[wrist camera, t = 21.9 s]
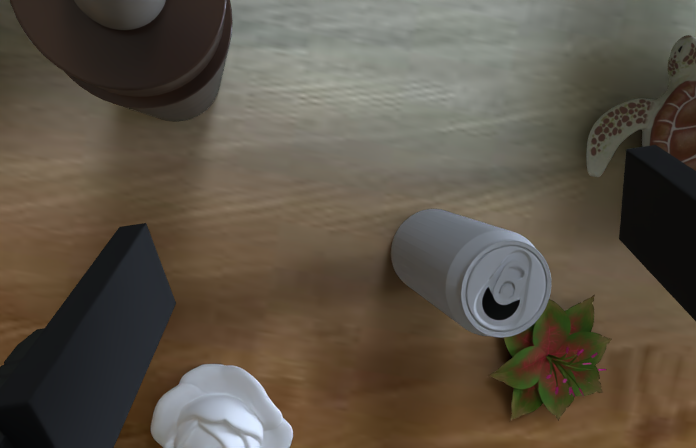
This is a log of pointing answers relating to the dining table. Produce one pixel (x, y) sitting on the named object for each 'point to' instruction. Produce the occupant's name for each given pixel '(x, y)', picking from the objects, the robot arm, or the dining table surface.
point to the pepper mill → (136, 49)
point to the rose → (219, 412)
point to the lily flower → (554, 360)
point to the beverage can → (472, 271)
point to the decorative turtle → (653, 116)
